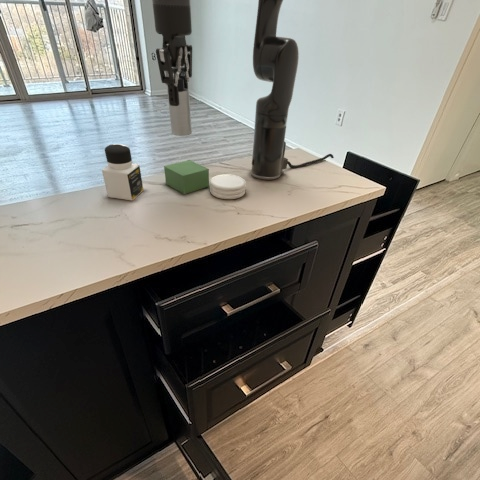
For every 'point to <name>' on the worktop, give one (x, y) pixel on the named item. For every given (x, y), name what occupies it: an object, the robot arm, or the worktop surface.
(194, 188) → the block
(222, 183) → the white short cylinder
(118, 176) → the medicine bottle
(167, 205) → the worktop surface
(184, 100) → the flask
